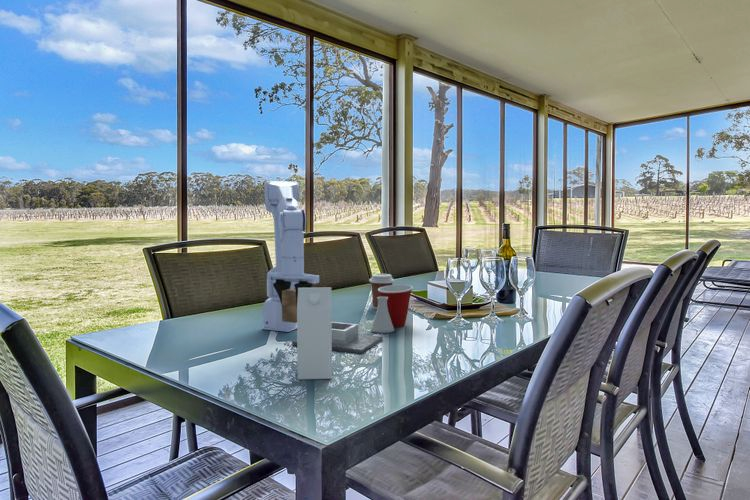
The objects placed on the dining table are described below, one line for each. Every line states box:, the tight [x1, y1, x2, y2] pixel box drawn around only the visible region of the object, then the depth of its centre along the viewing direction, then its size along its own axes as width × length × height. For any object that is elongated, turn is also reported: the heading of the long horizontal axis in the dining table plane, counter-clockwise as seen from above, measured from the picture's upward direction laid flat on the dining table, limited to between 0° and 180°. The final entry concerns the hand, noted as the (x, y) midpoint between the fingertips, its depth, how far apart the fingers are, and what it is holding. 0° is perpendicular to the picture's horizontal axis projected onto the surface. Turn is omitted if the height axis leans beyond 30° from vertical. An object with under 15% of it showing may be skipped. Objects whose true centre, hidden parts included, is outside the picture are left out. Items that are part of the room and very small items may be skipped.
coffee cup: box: [368, 273, 395, 310], centre depth 182 cm, size 9×9×12 cm
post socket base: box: [291, 321, 384, 355], centre depth 134 cm, size 20×14×4 cm
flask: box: [370, 297, 395, 334], centre depth 147 cm, size 7×7×10 cm
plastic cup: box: [378, 284, 414, 328], centre depth 154 cm, size 11×11×12 cm
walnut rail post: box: [282, 288, 297, 323], centre depth 130 cm, size 4×4×8 cm
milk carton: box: [296, 286, 333, 380], centre depth 108 cm, size 7×7×19 cm
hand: (293, 309), depth 130 cm, fingers closed on walnut rail post, 4 cm apart
